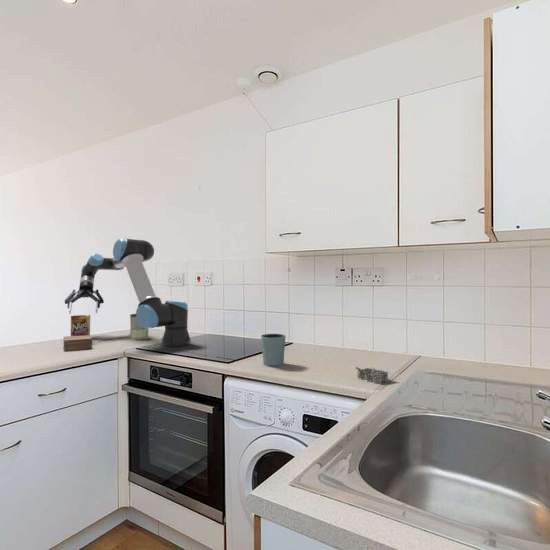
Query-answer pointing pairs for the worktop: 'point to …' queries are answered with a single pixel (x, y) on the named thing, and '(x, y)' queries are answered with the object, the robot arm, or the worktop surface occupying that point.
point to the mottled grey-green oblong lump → (372, 374)
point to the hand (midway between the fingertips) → (83, 311)
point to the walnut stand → (77, 342)
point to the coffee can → (137, 329)
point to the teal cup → (273, 349)
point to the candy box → (80, 325)
